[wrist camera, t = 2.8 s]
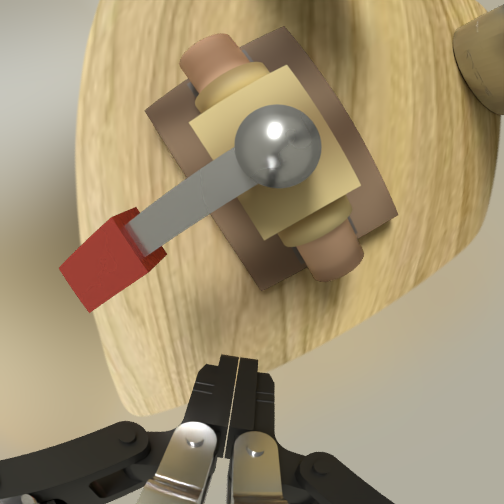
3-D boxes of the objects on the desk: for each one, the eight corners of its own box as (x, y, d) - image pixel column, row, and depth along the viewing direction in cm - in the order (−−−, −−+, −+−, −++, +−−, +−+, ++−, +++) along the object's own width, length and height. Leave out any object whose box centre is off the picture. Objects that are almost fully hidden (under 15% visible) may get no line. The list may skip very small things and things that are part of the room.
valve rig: (153, 113, 17) (86, 93, 9) (283, 34, 15) (288, -31, 7) (262, 282, 21) (256, 352, 13) (389, 210, 18) (452, 243, 10)
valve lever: (288, 103, 9) (292, 89, 7) (324, 161, 10) (337, 162, 8) (82, 251, 12) (57, 266, 10) (111, 294, 12) (90, 314, 10)
